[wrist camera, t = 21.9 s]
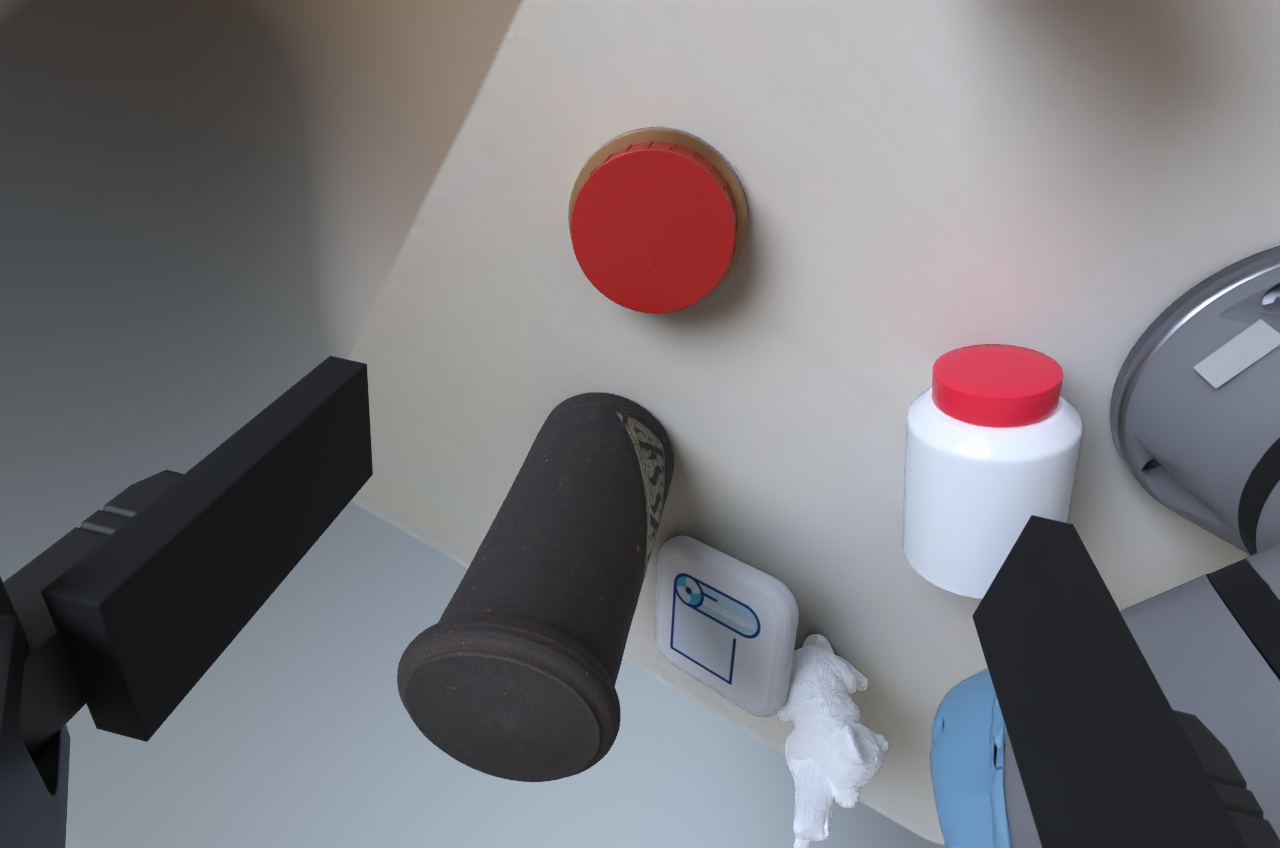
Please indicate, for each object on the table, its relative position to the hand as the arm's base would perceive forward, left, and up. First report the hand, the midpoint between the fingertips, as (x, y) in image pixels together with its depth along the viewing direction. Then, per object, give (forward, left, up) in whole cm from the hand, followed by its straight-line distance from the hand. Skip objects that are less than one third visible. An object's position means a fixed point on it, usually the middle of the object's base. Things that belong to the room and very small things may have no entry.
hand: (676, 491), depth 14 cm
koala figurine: (-13, +30, -25) cm, 41 cm away
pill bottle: (-17, +15, -21) cm, 31 cm away
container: (+4, +17, -25) cm, 30 cm away
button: (-1, +27, -24) cm, 36 cm away
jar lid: (+3, +2, -23) cm, 23 cm away
